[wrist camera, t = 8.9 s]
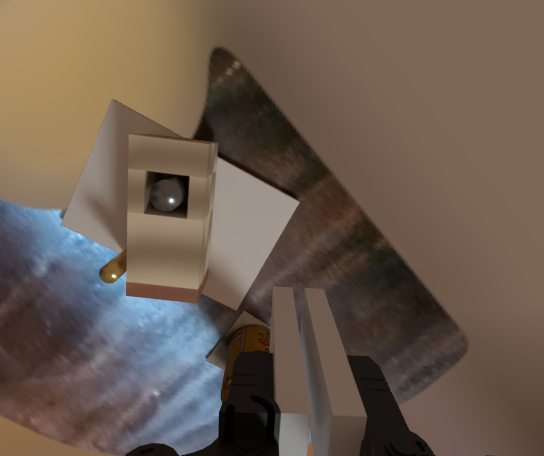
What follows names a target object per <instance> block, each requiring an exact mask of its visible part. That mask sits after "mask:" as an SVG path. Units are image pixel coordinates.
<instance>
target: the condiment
mask: <svg viewBox="0 0 544 456" xmlns="http://www.w3.org/2000/svg"><path fill="white" fill-rule="evenodd" d="M270 330H271V327H270V326H268V325H267V324H265V323H263V322H262V321H260V320H259V319H257V318H255V317H253V316H252V315H250V314H249V313H247V312H246V311H243V313H242V314H241V315H240V316H239V318H238V319H237V320H236V321H235V323H234V324H233V325H232V327H231V328H230V329H229V331H228V332H227V333H226V335H225V336H224V337H223V339H222V340H221V341H220V343H219V344H218V345H217V346H216V348H215V349H214V350H213V352H212V353H211V355H210V356H209V357H208V358H207V360H206V361H208V362H210V363H212V364H214V365H216V366H218V367H219V368H221V369H223V370H225V372H224V378H223V383H222V389H221V401H222V404H223V402H225V401H226V400H227V399H228V396H229V389H230V383H231V376H232V370H233V363H234V361H235V359H236V358H237V357H238V356H239V355H240V353H241V352H262V353H269V346H270ZM228 346H229V347H228Z"/></svg>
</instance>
